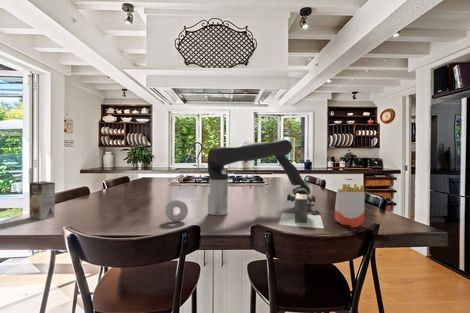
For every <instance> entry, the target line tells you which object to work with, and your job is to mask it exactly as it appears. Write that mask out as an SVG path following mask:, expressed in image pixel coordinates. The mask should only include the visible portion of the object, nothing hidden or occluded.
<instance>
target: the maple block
mask: <svg viewBox="0 0 470 313" xmlns="http://www.w3.org/2000/svg"><path fill="white" fill-rule="evenodd" d="M308 204H309V202H308V199H307V195H304V194H296V198H295V201H294V214H295V222H297V223H307V215H308Z"/></svg>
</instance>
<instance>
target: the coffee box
mask: <svg viewBox="0 0 470 313" xmlns="http://www.w3.org/2000/svg"><path fill="white" fill-rule="evenodd" d="M55 188H56V184H55V182H51V181H35V182H29V218H31V219H35V220H40V221H44V220H48V219H51V218H55V217H56V216H55V214H56V210H55V209H56V206H55V204H56V203H55V202H56V198H55V197H56V195H55V194H56V189H55Z"/></svg>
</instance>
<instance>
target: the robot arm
mask: <svg viewBox="0 0 470 313" xmlns="http://www.w3.org/2000/svg"><path fill="white" fill-rule="evenodd" d="M292 150H293V144H292V143H291V142H290V140H287V139H284V138H282V139H274V140H273V141H272V142H265V141H264V142H262V141H261V142H259V141H258V142H249V143H245V144H243V145H240V146H235V147H234V146H232V147H231V146H229V147H227V146H214V147H211V148H210V149H209V150H208V154H207V174H208V176H209V177H208V178H209V190H208V191H209V194H207V215H212V216H225V215H228V213H229V212H228V210H229V208H228V207H229V173H228V172H227V171H226V170H225V166H227V165H230V164H234V163H237V162H238V163H239V162H250V161H257V160H261V159H265V158H269V157H275V159H276V160H277V161H278V163H279V164H280V166H281V167H282V170H284V172H285V174H286V175H287V178H288V180H289V183H290V184H291V185H292V186H296V187H294V188H293V189H292V190H291V191H292V194H291V193H290V194H287V197H286V201H288V202H289V201H290V202H292V203H294V202H295V198H296V194H304V195H307V199H308V204H311V203H312V202H313V203H316V196H315V195H311V196H310V193H311V188H310V186H309V185H308V184H307V183H306V181H305V180H303V178H302V176H301V174H300V171H299V170H298V169H297V167H296V166H295V165H294V164H293V163H292V162H291V161H290V160H289V159H288V157H287V156H288V155H289V154H290V153H291V152H292Z"/></svg>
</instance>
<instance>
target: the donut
mask: <svg viewBox="0 0 470 313" xmlns="http://www.w3.org/2000/svg"><path fill="white" fill-rule="evenodd" d="M188 207H189V206H188V205H187V203H186V202H184V201H183V200H182V199H178V198H177V199H172V200H170V201H169V202H168V203H167V204H166V206H165V209H164V210H165V211H164V212H165V215H166V217H167V219H169V221H171V222H174V223H178V222H182V221H183V220H185V219H186V218H187V216H188V214H189V213H188V212H189V209H188ZM175 208H179V213H175V212H174V209H175Z"/></svg>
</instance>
